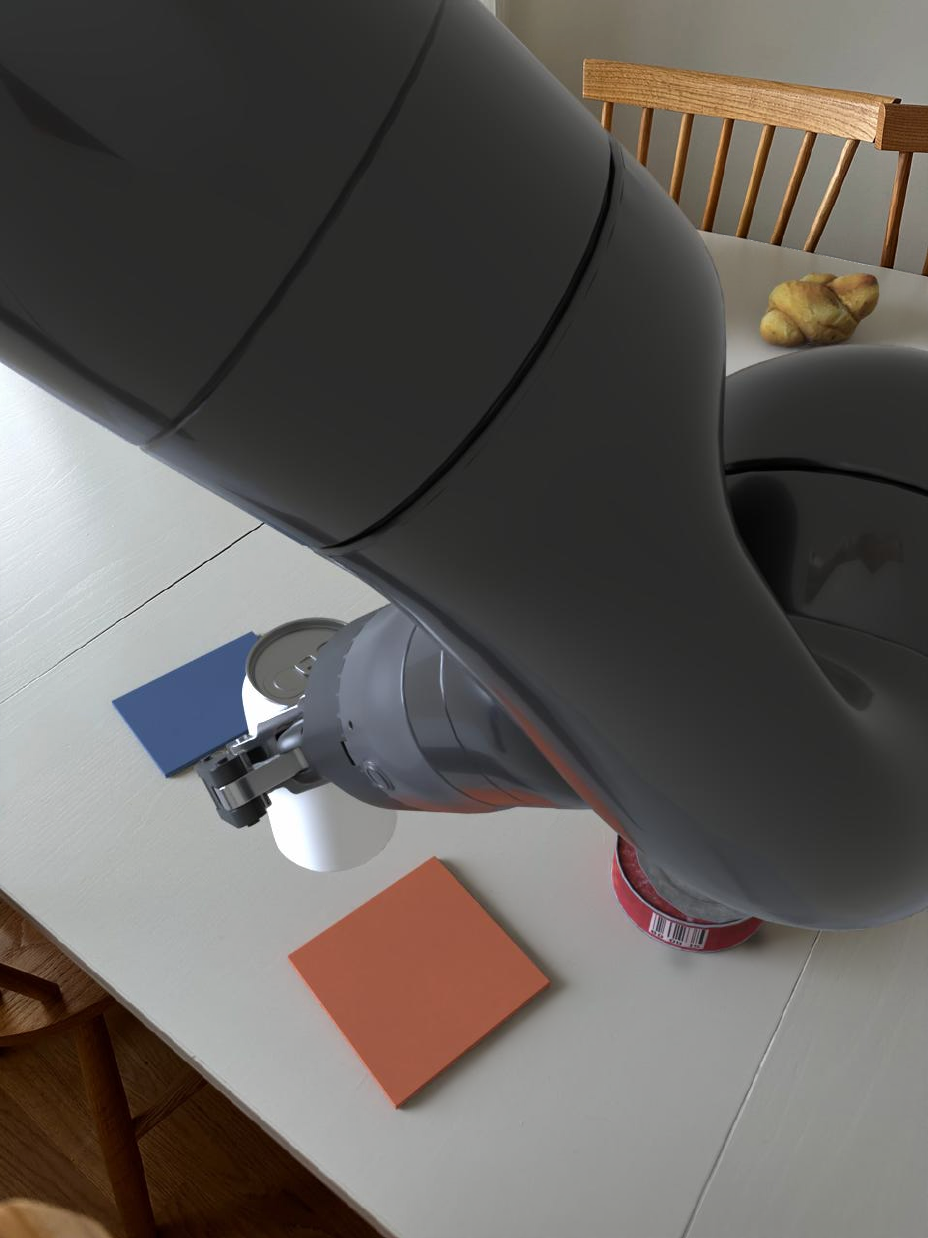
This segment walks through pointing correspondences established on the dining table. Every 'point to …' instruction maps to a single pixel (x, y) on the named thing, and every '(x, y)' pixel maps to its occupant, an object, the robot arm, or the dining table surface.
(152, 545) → the dining table surface
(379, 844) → the can
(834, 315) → the bread roll
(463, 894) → the terracotta mat
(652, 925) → the canned food
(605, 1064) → the dining table surface
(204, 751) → the blue mat
